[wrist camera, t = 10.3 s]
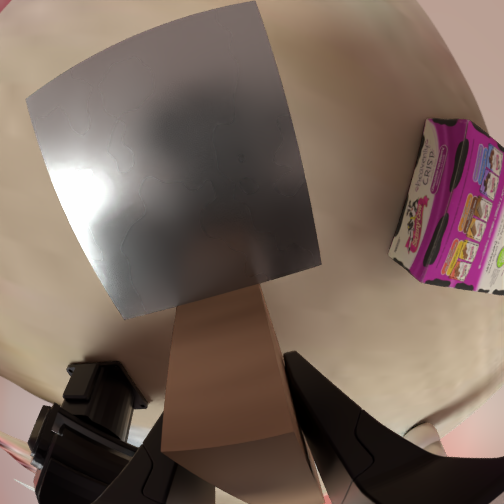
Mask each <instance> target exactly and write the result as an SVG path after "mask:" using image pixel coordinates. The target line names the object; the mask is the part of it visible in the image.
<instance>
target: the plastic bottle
mask: <svg viewBox="0 0 504 504" xmlns="http://www.w3.org/2000/svg"><path fill="white" fill-rule="evenodd" d="M403 438H405V439H407V440H408V441H410V442H412V443H414V444H415V445H417V446H419V447H421V448H422V449H424V450H426V451H428V452H430V453H433V454H436V455H440V456H446V457H447V455H446V452H445V450H444V448H443V446H442V444H441V441H440V437H439V434H438V432H437V429H436V428H435V427H434V426H433V425H432V424H429V423H423V424H421V425H419V426H417V427H415V428H413V429H412V430H411V431H409V432H408V433H407V434H406V435H405V436H404V437H403Z"/></svg>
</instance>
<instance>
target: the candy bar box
mask: <svg viewBox="0 0 504 504" xmlns="http://www.w3.org/2000/svg"><path fill="white" fill-rule="evenodd" d="M388 256H389V257H391V258H392V259H393V260H394V261H395V262H397V263H398V264H399V265H401V266H402V267H403V268H405V269H406V270H407V271H408V272H409V273H410V274H411V275H412V276H414V277H415V278H416V279H417V280H418V281H419V282H421V283H424V284H430V285H436V286H443V287H449V288H457V289H463V290H470V291H476V292H484V293H489V294H496V295H503V296H504V148H503V147H502V146H501V145H500V144H499V143H498V142H497V141H495V140H494V139H493V138H492V137H491V136H489V135H488V134H487V133H486V132H485V131H483V130H482V129H481V128H480V127H478V126H477V125H476V124H474V123H473V122H472V121H470V120H468V119H438V118H427V119H426V121H425V126H424V131H423V136H422V141H421V146H420V150H419V154H418V158H417V163H416V167H415V171H414V174H413V178H412V182H411V185H410V189H409V192H408V196H407V199H406V202H405V206H404V209H403V212H402V215H401V218H400V221H399V224H398V227H397V230H396V233H395V236H394V239H393V242H392V244H391V247H390V250H389V252H388Z"/></svg>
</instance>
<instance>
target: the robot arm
mask: <svg viewBox="0 0 504 504" xmlns="http://www.w3.org/2000/svg"><path fill="white" fill-rule="evenodd" d="M283 357H284V365H285V370H286V374H287V378H288V382H289V385H290V389H291V393H292V397H293V401H294V404H295V408H296V412H297V415H298V418H299V422H300V425H301V429H302V431H303V434H304V436H305V439H306V441H307V444H308V446H309V449H310V451H311V454H312V456H313V459H314V461H315V464H316V466H317V469H318V471H319V473H320V476H321V478H322V481H323V483H324V486H325V488H326V490H327V493H328V495H329V498H330V500H331V502H332V504H504V456H503V457H499V458H460V457H446V456H440V455H436V454H433V453H430V452H428V451H426V450H424V449H422V448H421V447H419V446H417V445H415V444H414V443H412V442H410V441H408V440H407V439H405V438H403V437H401V436H400V435H398V434H396V433H395V432H393V431H392V430H390V429H388V428H387V427H385V426H384V425H382V424H381V423H380V422H378V421H377V420H376V419H374V418H373V417H372V416H371V415H369V414H368V413H367V412H366V411H365V410H362V408H361V407H360V406H359V405H357V404H356V403H355V402H354V401H353V400H351V399H350V398H349V397H348V396H347V395H346V394H344V393H343V392H342V391H341V390H340V389H339V388H337V387H336V386H335V385H334V384H333V383H332V382H330V381H329V380H328V379H327V378H326V377H325V376H324V375H322V374H321V373H320V372H319V371H318V370H317V369H316V368H315V367H313V366H312V365H311V364H310V363H309V362H308V361H307V360H306V359H304V358H303V357H302V356H301V355H300V354H299V353H298V352H297V351H291V352H286V353H284V355H283ZM66 370H67V372H68V373H69V375H70V376H71V378H70V380H69V382H68V384H67V386H66V389H65V391H64V393H63V398H64V401H63V404H62V406H61V407H60V405H58V404H57V403H55V402H54V404H53V406H52V407H50V406H45V405H43V407H42V409H41V411H40V413H39V416H38V418H37V420H36V423H35V425H34V428H33V430H32V433H31V435H30V438H29V440H28V445H29V448H30V450H31V455H30V456H32V459H31V463H30V464H31V465H33V466H34V467H36V468H37V471H36V474H35V477H34V481H33V482H34V488H35V493H36V496H37V500H38V503H39V504H215V486H214V485H212V484H210V483H208V482H207V481H205V480H203V479H202V478H200V477H198V476H197V475H195V474H193V473H192V472H190V471H189V470H187V469H185V468H184V467H182V466H181V465H179V464H178V463H176V462H175V461H173V460H172V459H170V458H169V457H168V456H166V455H165V454H163V453H162V452H161V441H162V427H163V415H164V411H163V412H162V414H161V416H160V417H159V419H158V420H157V422H156V423H155V425H154V426H153V428H152V429H151V431H150V432H149V434H148V435H147V437H146V438H145V440H144V441H143V444H142V445H141V446H140V447H139V448H138V447H135V446H133V445H131V444H129V443H127V439H128V434H129V429H130V425H131V420H132V415H133V411H134V409H146V408H147V407H148V403H147V401H146V400H145V398H144V397H143V396H142V394H141V393H140V391H139V390H138V388H137V387H136V386H135V384H134V383H133V381H132V380H131V378H130V377H129V375H128V374H127V372H126V371H125V369H124V367H123V366H122V364H121V363H119V362H117V361H113V362H102V363H90V364H75V365H68V367H67V369H66ZM52 430H53V431H54V432H53V431H52ZM55 432H56V433H55Z"/></svg>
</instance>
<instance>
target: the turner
mask: <svg viewBox="0 0 504 504" xmlns="http://www.w3.org/2000/svg"><path fill="white" fill-rule="evenodd" d="M26 103H27V107H28V110H29V114H30V118H31V121H32V125H33V128H34V131H35V135H36V138H37V141H38V144H39V147H40V150H41V153H42V156H43V159H44V161H45V164H46V167H47V170H48V172H49V175H50V177H51V180H52V183H53V185H54V188H55V190H56V192H57V195H58V197H59V199H60V202H61V204H62V206H63V209H64V211H65V213H66V215H67V217H68V220H69V222H70V224H71V226H72V228H73V230H74V232H75V234H76V236H77V238H78V240H79V242H80V244H81V246H82V248H83V250H84V252H85V254H86V256H87V258H88V260H89V261H90V263H91V265H92V267H93V269H94V270H95V272H96V274H97V276H98V278H99V279H100V281H101V283H102V284H103V286H104V288H105V290H106V291H107V293H108V295H109V296H110V298H111V299H112V301H113V303H114V304H115V306H116V308H117V309H118V311H119V312H120V314H121V315H122V317H123V318H124V320H126V319H130V318H134V317H138V316H142V315H146V314H150V313H153V312H157V311H161V310H165V309H169V308H173V307H176V306H177V308H176V315H175V321H174V328H173V335H172V343H171V350H170V358H169V366H168V375H167V384H166V393H165V404H164V415H163V427H162V441H161V452H162V453H163V454H165V455H166V456H168V457H169V458H170V459H172V460H173V461H175V462H176V463H178V464H179V465H181V466H182V467H184V468H185V469H187V470H189V471H190V472H192V473H193V474H195V475H197V476H198V477H200V478H202V479H203V480H205V481H207V482H208V483H210V484H212V485H214V486H215V487H217V488H219V489H221V490H223V491H225V492H226V493H228V494H230V495H232V496H234V497H236V498H238V499H240V500H242V501H244V502H246V503H249V504H324V503H325V501H324V497H323V493H322V489H321V485H320V482H319V478H318V474H317V470H316V466H315V463H314V459H313V456H312V454H311V451H310V449H309V446H308V444H307V441H306V439H305V436H304V434H303V431H302V429H301V425H300V422H299V418H298V415H297V412H296V408H295V404H294V401H293V397H292V393H291V389H290V385H289V382H288V378H287V374H286V370H285V365H284V359H283V356H282V353H281V349H280V346H279V343H278V340H277V337H276V334H275V331H274V327H273V324H272V321H271V318H270V315H269V312H268V309H267V305H266V302H265V299H264V296H263V293H262V290H261V287H260V283H263V282H266V281H269V280H273V279H276V278H279V277H283V276H286V275H289V274H293V273H296V272H299V271H303V270H306V269H309V268H312V267H316V266H319V265H322V263H321V257H320V251H319V246H318V240H317V234H316V229H315V223H314V218H313V213H312V208H311V203H310V198H309V193H308V188H307V183H306V179H305V174H304V170H303V165H302V161H301V156H300V152H299V148H298V144H297V139H296V135H295V131H294V127H293V123H292V119H291V116H290V112H289V108H288V104H287V100H286V97H285V93H284V89H283V86H282V82H281V79H280V75H279V72H278V69H277V65H276V62H275V59H274V55H273V52H272V49H271V46H270V42H269V39H268V36H267V33H266V30H265V27H264V24H263V21H262V18H261V15H260V12H259V10H258V7H257V4H256V1H250V2H244V3H239V4H234V5H229V6H225V7H220V8H216V9H212V10H208V11H205V12H201V13H197V14H194V15H190V16H187V17H184V18H181V19H177V20H174V21H171V22H169V23H166V24H163V25H160V26H157V27H155V28H152V29H150V30H147V31H144V32H142V33H140V34H137V35H135V36H132V37H130V38H128V39H126V40H123V41H121V42H119V43H117V44H115V45H113V46H111V47H109V48H107V49H105V50H103V51H101V52H99V53H97V54H95V55H93V56H91V57H89V58H88V59H86V60H84V61H82V62H80V63H79V64H77V65H75V66H74V67H72V68H70V69H69V70H67V71H65V72H64V73H62V74H61V75H59V76H58V77H56V78H54V79H53V80H51V81H50V82H48V83H47V84H46V85H44V86H43V87H41V88H40V89H38V90H37V91H36V92H34V93H33V94H32V95H30V96H29V97H28V98H26Z"/></svg>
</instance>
